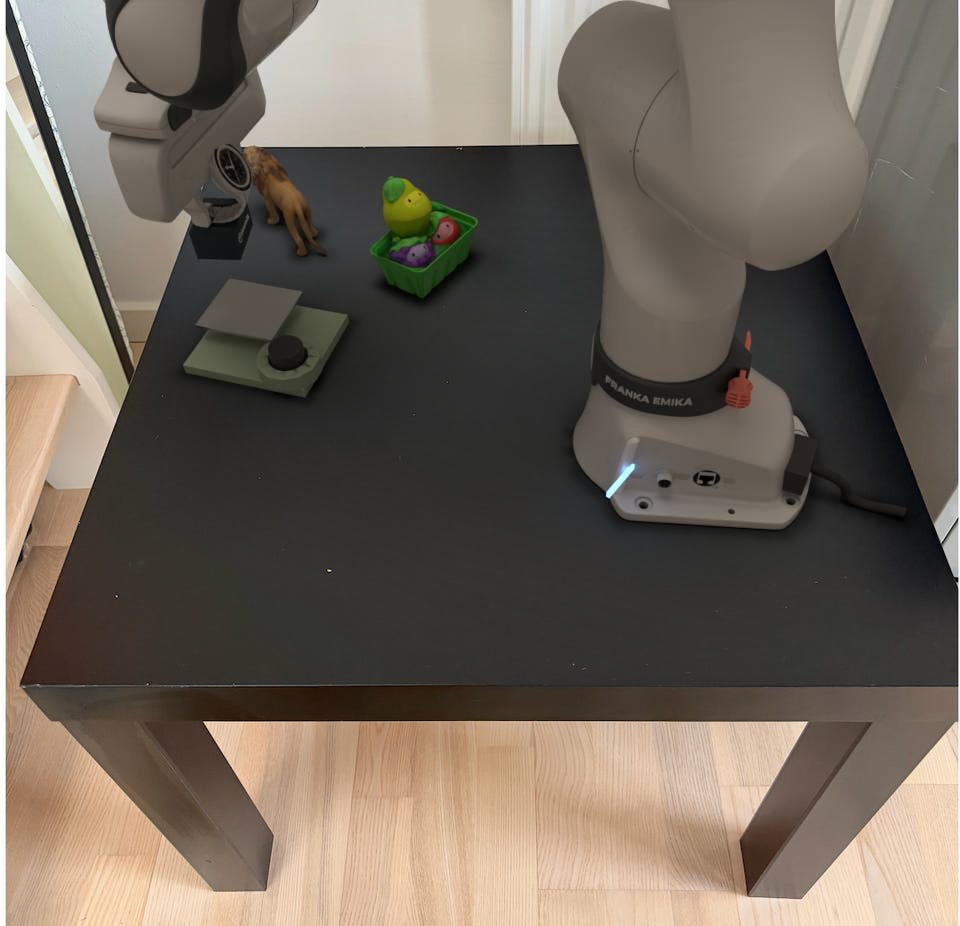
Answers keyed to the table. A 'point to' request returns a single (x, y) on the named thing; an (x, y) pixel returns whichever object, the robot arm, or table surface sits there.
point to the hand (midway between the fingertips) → (218, 206)
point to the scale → (251, 357)
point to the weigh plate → (249, 310)
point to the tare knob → (286, 353)
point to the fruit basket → (420, 238)
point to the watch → (226, 208)
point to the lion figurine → (281, 195)
